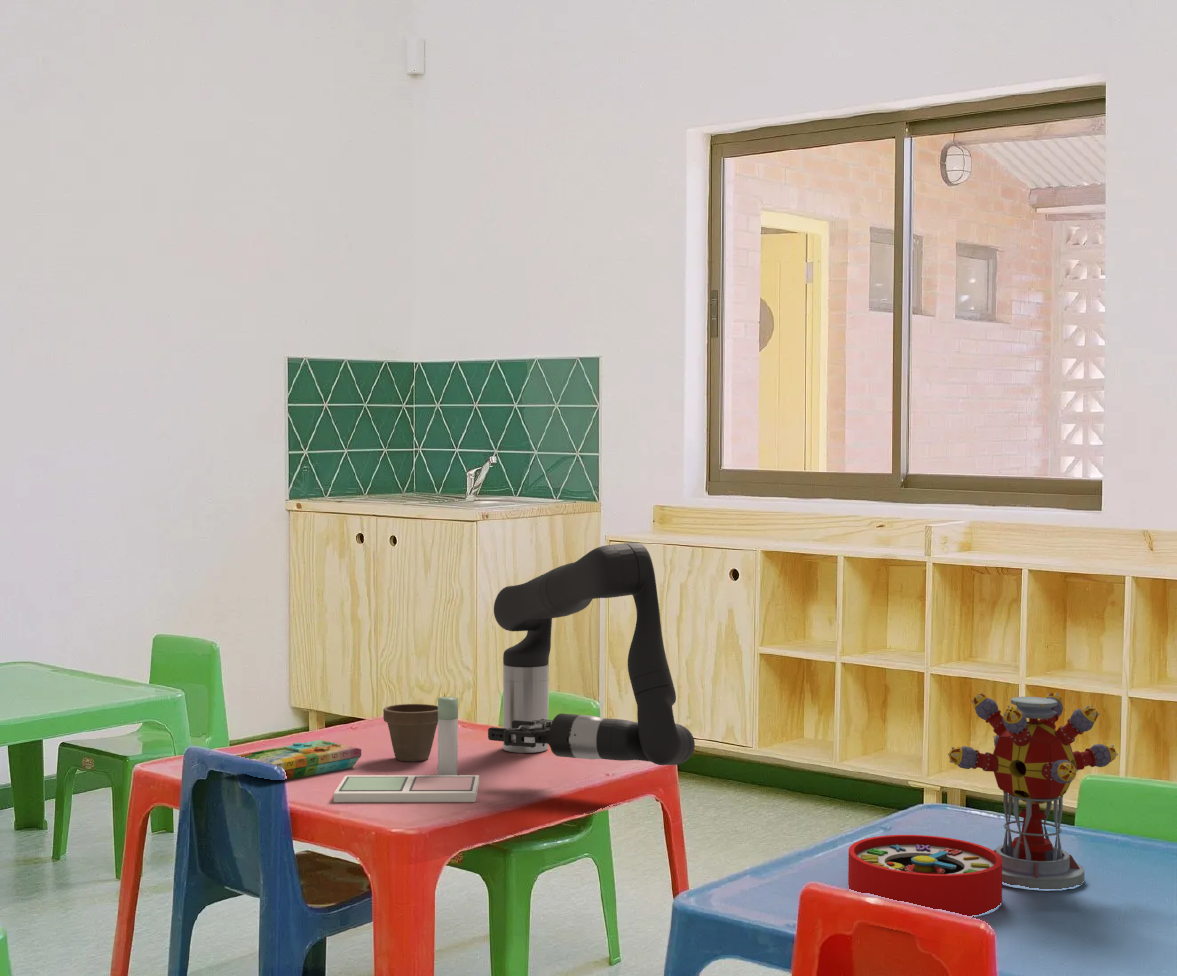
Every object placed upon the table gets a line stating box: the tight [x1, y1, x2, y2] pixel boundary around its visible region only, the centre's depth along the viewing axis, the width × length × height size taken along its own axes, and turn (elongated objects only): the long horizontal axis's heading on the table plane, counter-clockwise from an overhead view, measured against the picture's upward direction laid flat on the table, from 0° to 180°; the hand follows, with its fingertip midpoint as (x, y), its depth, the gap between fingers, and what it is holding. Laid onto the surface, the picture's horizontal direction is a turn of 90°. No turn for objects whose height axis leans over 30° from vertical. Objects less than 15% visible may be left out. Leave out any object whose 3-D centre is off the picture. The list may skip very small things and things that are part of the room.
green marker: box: [437, 696, 459, 775], centre depth 257 cm, size 4×4×15 cm
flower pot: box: [382, 703, 438, 763], centre depth 274 cm, size 12×11×10 cm
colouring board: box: [333, 774, 480, 803], centre depth 245 cm, size 14×24×2 cm, turn 92°
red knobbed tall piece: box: [947, 691, 1119, 889], centre depth 196 cm, size 18×18×25 cm
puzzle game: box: [235, 739, 362, 781], centre depth 262 cm, size 12×5×20 cm
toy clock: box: [847, 834, 1003, 917], centre depth 187 cm, size 20×6×20 cm
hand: (501, 729), depth 252 cm, fingers open, 8 cm apart
